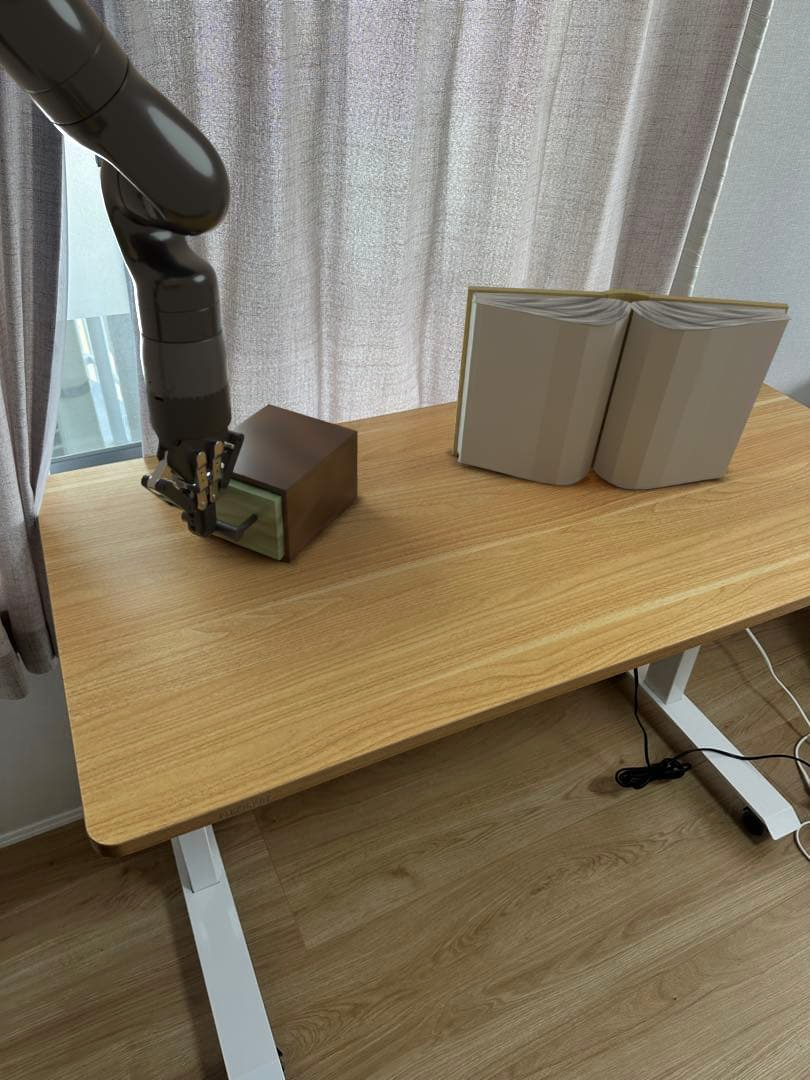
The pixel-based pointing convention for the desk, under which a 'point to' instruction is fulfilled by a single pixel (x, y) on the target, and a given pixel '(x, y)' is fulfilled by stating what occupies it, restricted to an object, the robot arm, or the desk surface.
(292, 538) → the cabinet
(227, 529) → the drawer
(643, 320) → the book
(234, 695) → the desk surface
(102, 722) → the desk surface
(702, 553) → the desk surface
